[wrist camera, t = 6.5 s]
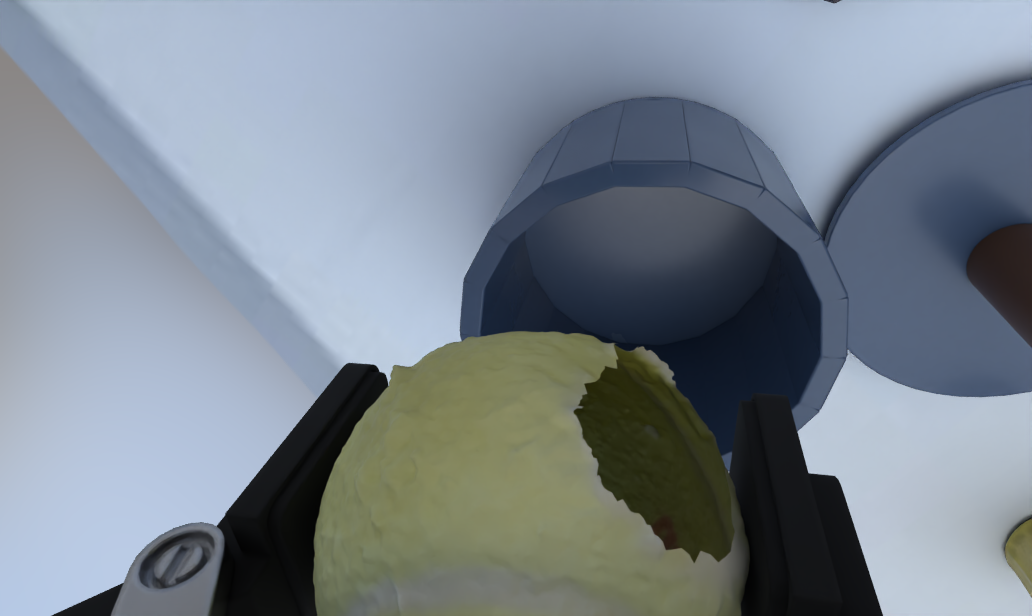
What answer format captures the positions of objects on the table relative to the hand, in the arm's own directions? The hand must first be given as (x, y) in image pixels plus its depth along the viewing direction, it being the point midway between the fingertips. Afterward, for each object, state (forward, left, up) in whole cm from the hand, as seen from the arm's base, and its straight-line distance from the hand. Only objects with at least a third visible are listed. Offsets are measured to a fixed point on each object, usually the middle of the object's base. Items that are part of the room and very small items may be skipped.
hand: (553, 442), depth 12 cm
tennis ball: (0, 0, -1) cm, 1 cm away
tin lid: (+4, +16, -17) cm, 24 cm away
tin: (+4, +2, -18) cm, 18 cm away
